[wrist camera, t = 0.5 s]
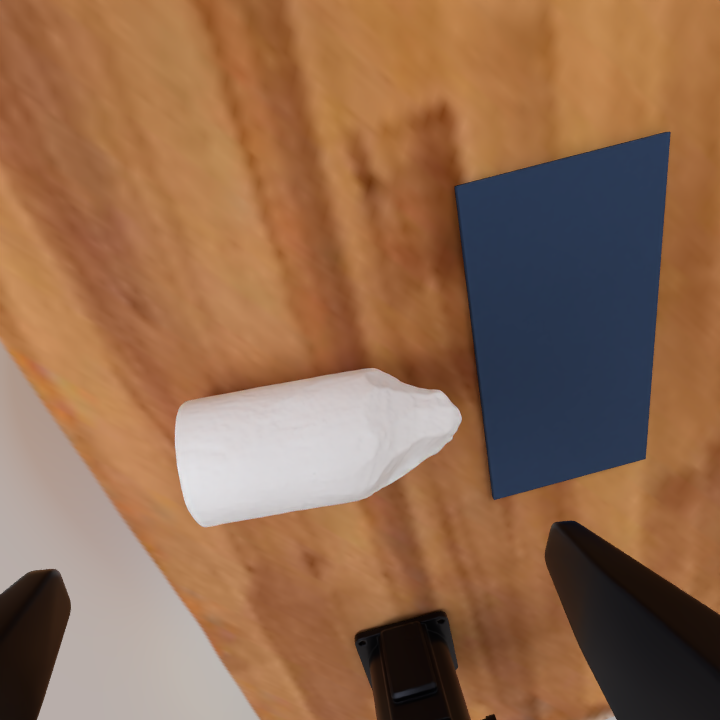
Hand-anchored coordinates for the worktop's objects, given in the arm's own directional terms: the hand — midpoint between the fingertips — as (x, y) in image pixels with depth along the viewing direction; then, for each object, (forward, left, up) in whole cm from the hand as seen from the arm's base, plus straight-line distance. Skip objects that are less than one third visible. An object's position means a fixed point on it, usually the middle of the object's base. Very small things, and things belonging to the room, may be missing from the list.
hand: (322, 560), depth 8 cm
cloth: (-5, -12, -14) cm, 19 cm away
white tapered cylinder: (-5, 0, -14) cm, 15 cm away
